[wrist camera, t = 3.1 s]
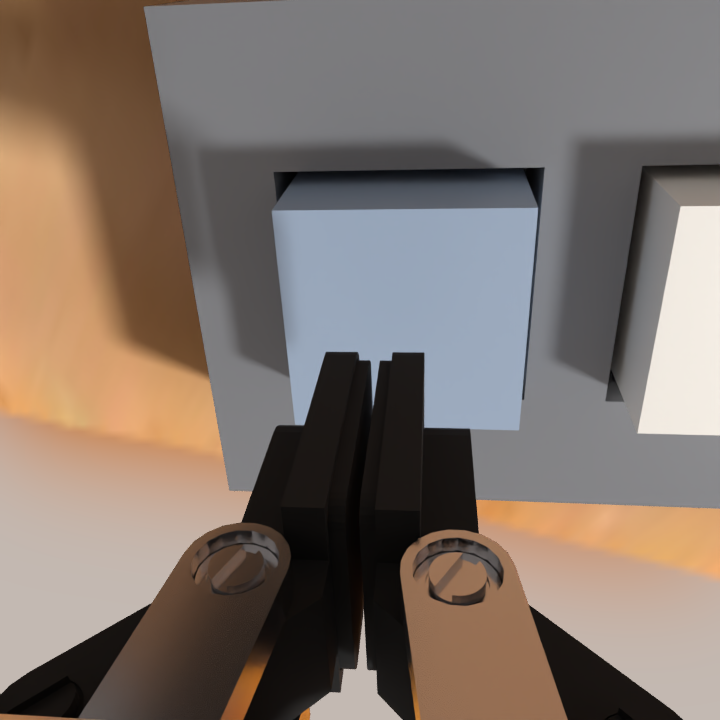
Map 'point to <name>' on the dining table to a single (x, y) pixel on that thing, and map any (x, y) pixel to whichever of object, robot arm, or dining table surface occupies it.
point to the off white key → (672, 304)
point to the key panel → (446, 151)
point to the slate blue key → (412, 282)
